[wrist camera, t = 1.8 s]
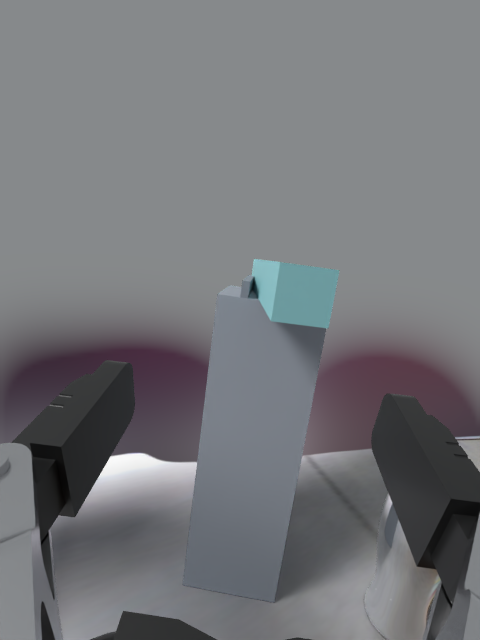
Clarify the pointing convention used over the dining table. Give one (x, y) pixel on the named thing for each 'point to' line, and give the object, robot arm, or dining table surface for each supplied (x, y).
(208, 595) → the dining table surface
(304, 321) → the batten
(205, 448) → the tower
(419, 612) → the beer glass
